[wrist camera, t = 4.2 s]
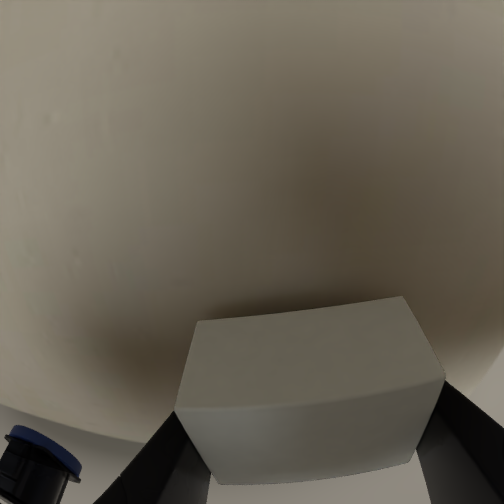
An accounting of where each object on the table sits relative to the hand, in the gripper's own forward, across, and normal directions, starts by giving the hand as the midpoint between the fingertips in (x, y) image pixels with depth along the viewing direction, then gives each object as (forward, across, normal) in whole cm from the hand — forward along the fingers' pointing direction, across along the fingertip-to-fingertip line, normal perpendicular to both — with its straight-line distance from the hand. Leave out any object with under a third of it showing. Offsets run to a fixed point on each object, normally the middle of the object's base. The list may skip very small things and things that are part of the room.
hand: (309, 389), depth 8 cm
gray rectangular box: (+1, 0, 0) cm, 1 cm away
